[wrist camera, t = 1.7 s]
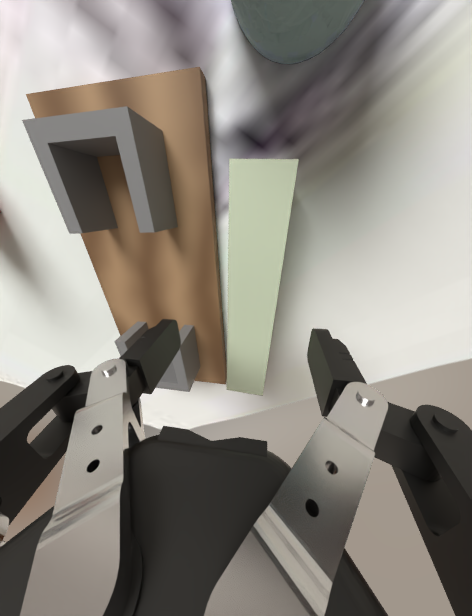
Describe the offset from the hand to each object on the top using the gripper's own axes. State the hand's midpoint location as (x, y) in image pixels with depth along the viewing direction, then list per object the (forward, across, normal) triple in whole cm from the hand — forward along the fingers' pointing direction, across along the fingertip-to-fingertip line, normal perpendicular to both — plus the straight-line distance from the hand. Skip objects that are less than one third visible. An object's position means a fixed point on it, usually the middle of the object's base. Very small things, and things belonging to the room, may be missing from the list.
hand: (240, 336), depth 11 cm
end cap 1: (+9, +11, -9) cm, 16 cm away
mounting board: (+10, +10, 0) cm, 15 cm away
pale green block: (+10, 0, 0) cm, 10 cm away
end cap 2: (+9, +11, +9) cm, 16 cm away
